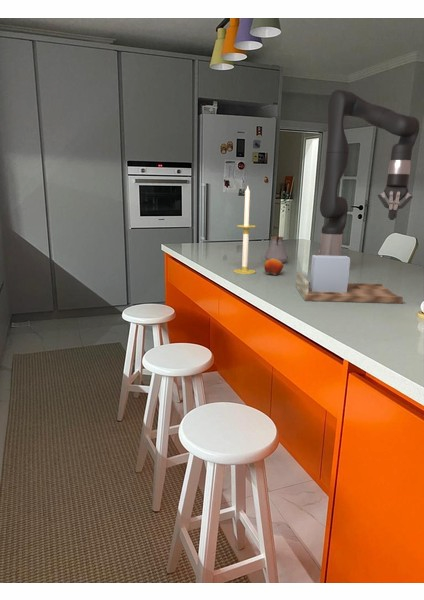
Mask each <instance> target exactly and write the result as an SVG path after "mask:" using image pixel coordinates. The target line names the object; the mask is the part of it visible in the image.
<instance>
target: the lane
mask: <svg viewBox="0 0 424 600" xmlns="http://www.w3.org/2000/svg"><path fill="white" fill-rule="evenodd" d="M295 288H296V289H297V291H298V292H299V294H300V295H301V297H302V299H303V300H304V301H305V302H324V303H325V302H327V303H328V302H329V303H331V302H332V303H334V302H335V303H361V304H363V303H364V304H365V303H366V304H368V303H369V304H396V305H397V304H399V305H402V304H403V298H404V297H403V296H400V295H397V293H394V292H392V291H391V290H389V289H388V288H386V287H385V286H384V285H383V283H365V282H364V283H360V282H357V283H355V282H353V283H352V282H348V286H347V292H314V291H311V289H310V281H308V279H307V278H306V277H305V275H304V274H302V272H301V271H297V274H296V281H295Z"/></svg>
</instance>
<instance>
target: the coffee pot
mask: <svg viewBox="0 0 424 600" xmlns="http://www.w3.org/2000/svg"><path fill="white" fill-rule="evenodd" d="M269 237H270V241H271V242H270V244H269V246H268V249H267V251H266V252H265V255H264V259H265V261H267V260H270V259H277V260H279V261H281V262H282V264H283V265H284V263H285V262H286V261H287V260H288V254H287V252H286V249H285V246H284V243H283V240H284V236H279V235H277V236H269Z"/></svg>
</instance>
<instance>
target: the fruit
mask: <svg viewBox="0 0 424 600" xmlns="http://www.w3.org/2000/svg"><path fill="white" fill-rule="evenodd" d="M283 268H284V263H283V264H282V262H281V261H279V260H277V259H270V260H265V261H264V272H265V274H266V276H267V275H273V276H276V275H280V274H281V272H282V270H283Z"/></svg>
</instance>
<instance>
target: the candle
mask: <svg viewBox="0 0 424 600" xmlns="http://www.w3.org/2000/svg"><path fill="white" fill-rule="evenodd" d="M250 204H251V190H250V188H249V185H247V186H246V189H245V191H244V209H243V211H244V212H243V214H244V216H243V217H244V218H243V224H238V225H237V224H236V227H237V228H243V229H242V231H243V233H242V255H241V256H242V257H241V268H238V269H237V268H236V269H234V270H233V271H232V272H233V273H235V274H238V275H252V274H256V271H255V270H254V269H250V268H249V267H248V265H249V264H248V263H249V241H250V240H249V239H250V237H249V236H250V228H254V229H255V228H256V227H257V226H256V225H253V224H250Z"/></svg>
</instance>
